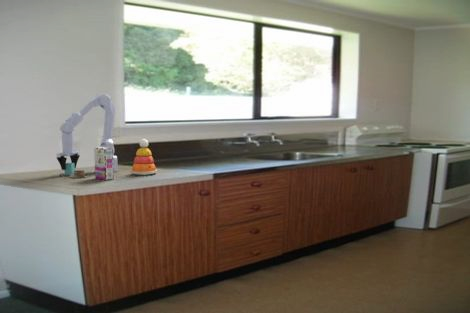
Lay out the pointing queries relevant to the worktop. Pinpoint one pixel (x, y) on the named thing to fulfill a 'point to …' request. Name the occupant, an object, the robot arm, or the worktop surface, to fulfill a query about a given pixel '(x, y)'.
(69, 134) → the robot arm
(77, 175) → the channel
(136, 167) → the stacking toy
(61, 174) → the coaster
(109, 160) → the candy bar box
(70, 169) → the block
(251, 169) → the worktop surface
